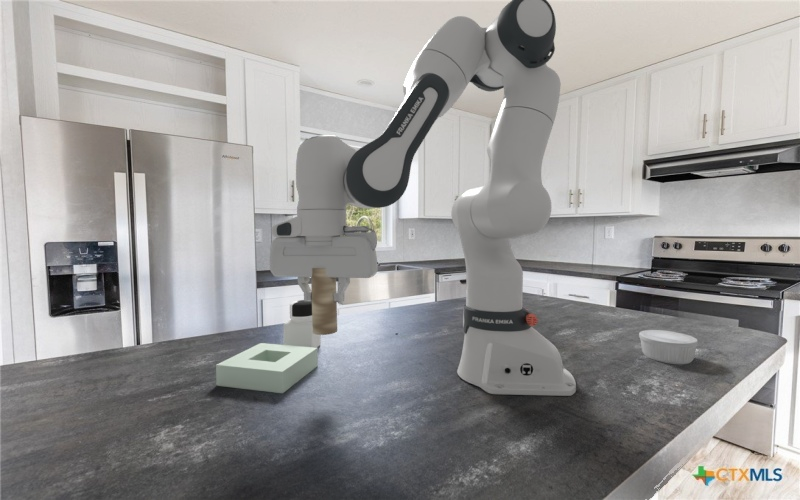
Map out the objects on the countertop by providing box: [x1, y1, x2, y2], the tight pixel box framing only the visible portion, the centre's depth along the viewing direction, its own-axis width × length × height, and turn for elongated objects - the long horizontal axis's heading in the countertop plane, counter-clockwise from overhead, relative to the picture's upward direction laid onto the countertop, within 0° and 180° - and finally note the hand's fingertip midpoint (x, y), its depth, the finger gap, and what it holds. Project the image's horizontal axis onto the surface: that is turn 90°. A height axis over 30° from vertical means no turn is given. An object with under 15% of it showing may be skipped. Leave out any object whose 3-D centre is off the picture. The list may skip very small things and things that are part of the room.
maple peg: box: [310, 268, 338, 336], centre depth 68 cm, size 4×4×12 cm
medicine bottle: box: [282, 299, 322, 348], centre depth 91 cm, size 7×7×12 cm
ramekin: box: [638, 329, 699, 365], centre depth 86 cm, size 11×11×5 cm
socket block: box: [215, 342, 319, 394], centre depth 74 cm, size 14×14×4 cm
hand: (324, 301), depth 68 cm, fingers closed on maple peg, 4 cm apart
